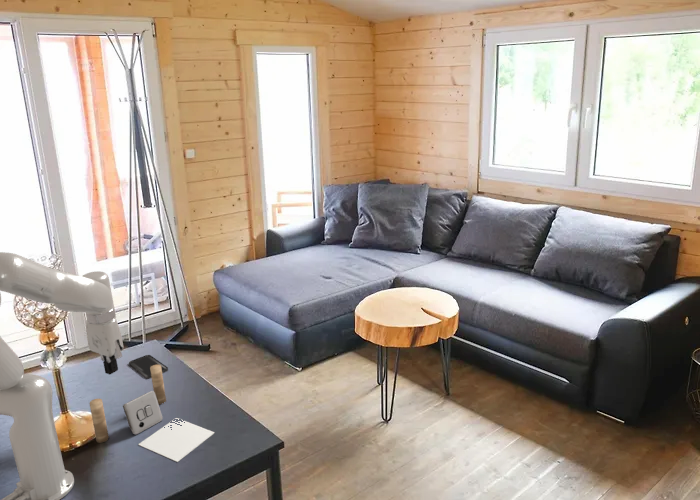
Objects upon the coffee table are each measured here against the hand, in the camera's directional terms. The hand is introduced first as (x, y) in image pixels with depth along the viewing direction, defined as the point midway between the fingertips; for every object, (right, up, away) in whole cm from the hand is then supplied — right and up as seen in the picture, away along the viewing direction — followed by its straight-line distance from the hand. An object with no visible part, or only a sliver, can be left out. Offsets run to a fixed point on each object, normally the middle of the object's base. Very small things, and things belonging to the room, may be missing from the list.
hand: (111, 371), depth 166 cm
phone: (0, -5, +31) cm, 31 cm away
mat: (+21, -17, -8) cm, 28 cm away
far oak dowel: (+11, -11, +10) cm, 19 cm away
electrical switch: (+10, -15, -1) cm, 18 cm away
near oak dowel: (0, -17, -7) cm, 19 cm away
